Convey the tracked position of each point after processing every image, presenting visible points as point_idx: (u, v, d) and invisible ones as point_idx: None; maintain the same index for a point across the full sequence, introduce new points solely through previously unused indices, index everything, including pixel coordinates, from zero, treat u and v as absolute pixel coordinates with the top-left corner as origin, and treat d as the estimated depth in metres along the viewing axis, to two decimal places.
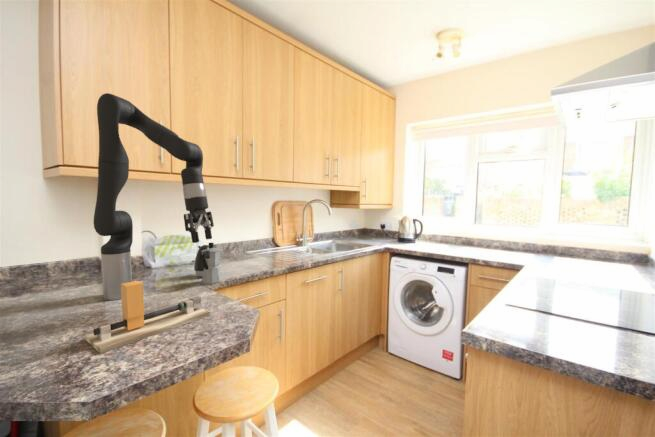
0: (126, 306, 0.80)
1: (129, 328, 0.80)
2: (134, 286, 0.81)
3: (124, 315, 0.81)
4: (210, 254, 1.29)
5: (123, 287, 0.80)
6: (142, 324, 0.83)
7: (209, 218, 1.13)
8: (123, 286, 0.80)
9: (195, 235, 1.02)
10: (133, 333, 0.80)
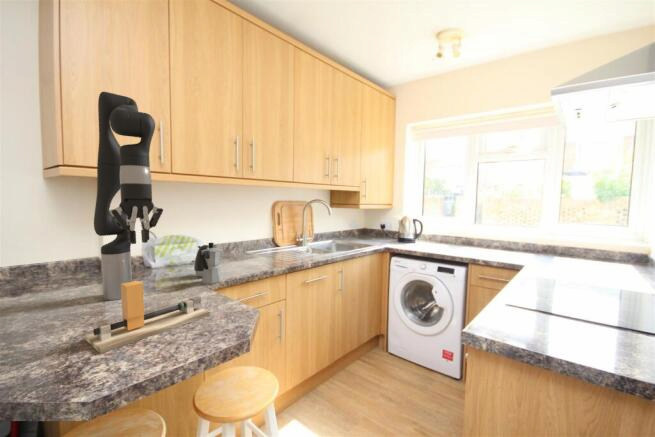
0: (126, 306, 0.80)
1: (129, 328, 0.80)
2: (134, 286, 0.81)
3: (124, 315, 0.81)
4: (210, 254, 1.29)
5: (123, 287, 0.80)
6: (142, 324, 0.83)
7: (155, 215, 0.87)
8: (123, 286, 0.80)
9: (131, 235, 0.82)
10: (133, 333, 0.80)
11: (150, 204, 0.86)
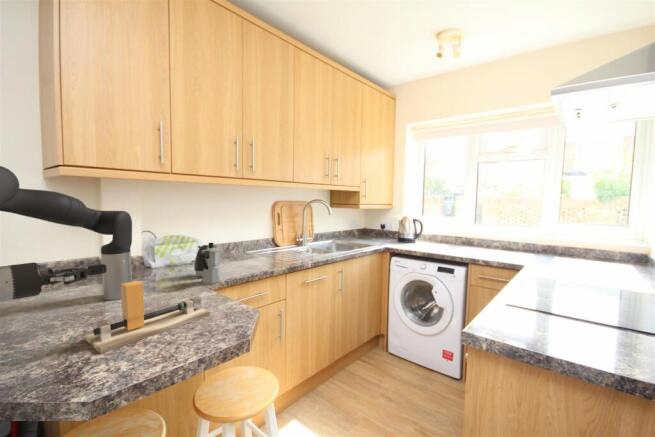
0: (126, 306, 0.80)
1: (129, 328, 0.80)
2: (134, 286, 0.81)
3: (124, 315, 0.81)
4: (210, 254, 1.29)
5: (123, 287, 0.80)
6: (142, 324, 0.83)
7: None
8: (123, 286, 0.80)
9: None
10: (133, 333, 0.80)
11: None
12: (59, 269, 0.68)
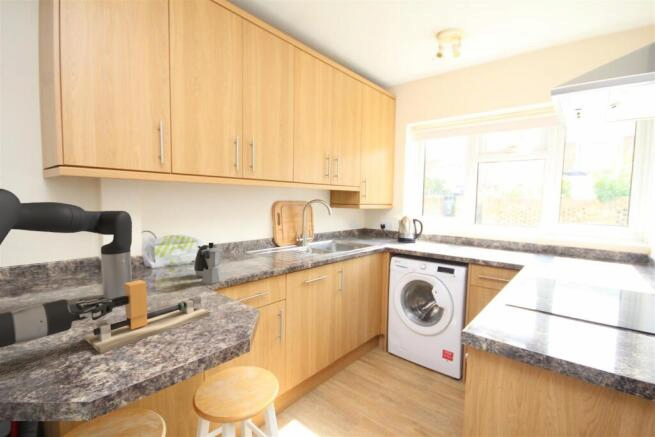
0: (129, 305, 0.80)
1: (132, 327, 0.81)
2: (137, 285, 0.81)
3: (127, 314, 0.82)
4: (210, 254, 1.29)
5: (126, 286, 0.81)
6: (145, 323, 0.83)
7: None
8: (126, 285, 0.81)
9: None
10: (133, 333, 0.80)
11: None
12: (87, 304, 0.73)
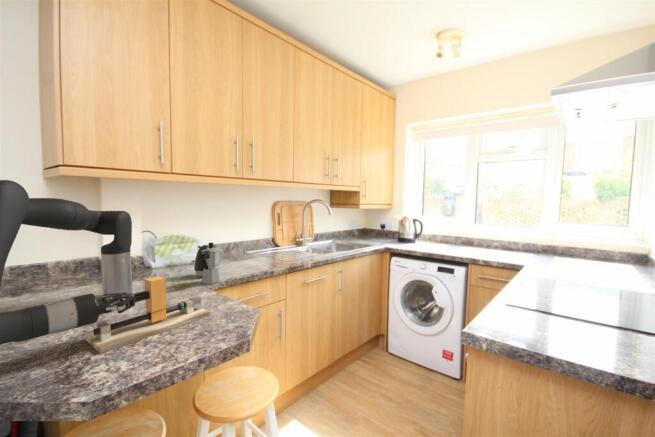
0: (150, 300, 0.85)
1: (153, 321, 0.85)
2: (157, 281, 0.85)
3: (148, 308, 0.86)
4: (210, 254, 1.29)
5: (147, 282, 0.85)
6: (164, 317, 0.88)
7: None
8: (147, 281, 0.85)
9: None
10: (133, 333, 0.80)
11: None
12: (112, 298, 0.77)
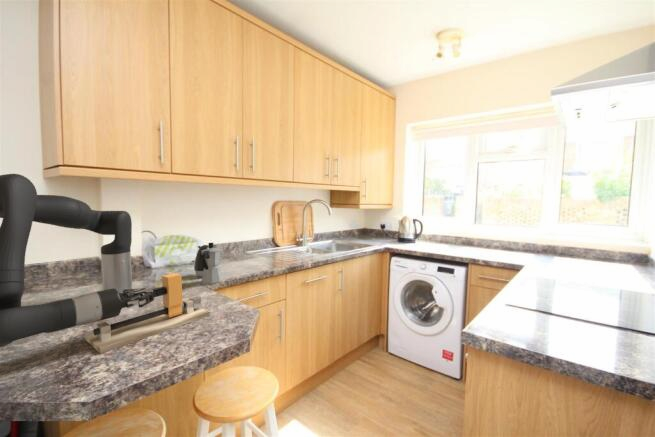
0: (167, 295, 0.89)
1: (170, 315, 0.89)
2: (174, 277, 0.89)
3: (165, 304, 0.90)
4: (210, 254, 1.29)
5: (164, 278, 0.89)
6: (180, 312, 0.92)
7: None
8: (164, 277, 0.89)
9: None
10: (133, 333, 0.80)
11: None
12: (133, 293, 0.81)
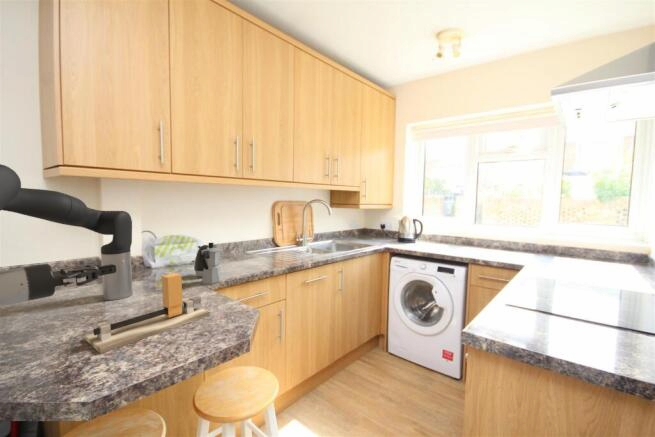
0: (167, 295, 0.88)
1: (170, 315, 0.89)
2: (174, 277, 0.89)
3: (165, 304, 0.90)
4: (210, 254, 1.29)
5: (164, 278, 0.89)
6: (180, 312, 0.91)
7: None
8: (164, 277, 0.89)
9: None
10: (133, 333, 0.80)
11: None
12: (71, 270, 0.70)
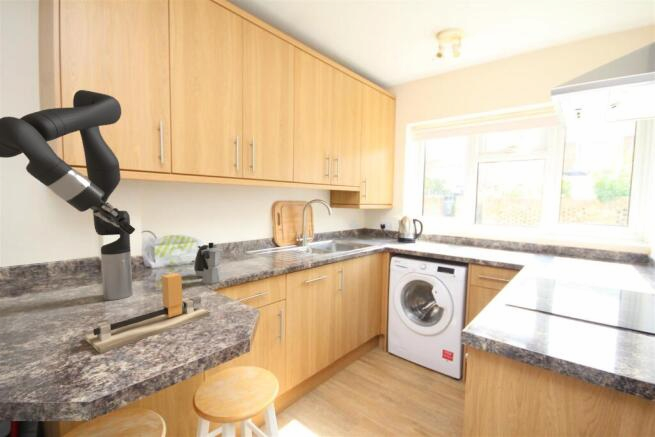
0: (167, 295, 0.88)
1: (170, 315, 0.89)
2: (174, 277, 0.89)
3: (165, 304, 0.90)
4: (210, 254, 1.29)
5: (164, 278, 0.89)
6: (180, 312, 0.91)
7: None
8: (164, 277, 0.89)
9: None
10: (133, 333, 0.80)
11: (99, 209, 0.78)
12: (111, 206, 0.82)
